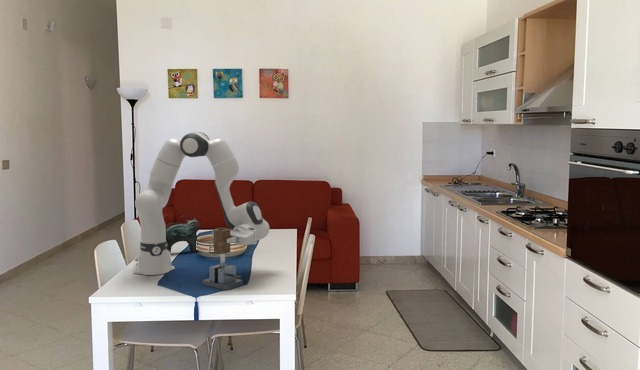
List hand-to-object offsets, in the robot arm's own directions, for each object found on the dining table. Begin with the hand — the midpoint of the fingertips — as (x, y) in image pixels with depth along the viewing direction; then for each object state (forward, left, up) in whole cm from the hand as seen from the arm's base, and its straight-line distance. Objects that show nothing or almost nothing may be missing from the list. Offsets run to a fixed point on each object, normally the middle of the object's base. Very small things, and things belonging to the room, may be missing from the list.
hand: (220, 239), depth 240 cm
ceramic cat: (-63, -1, -20) cm, 67 cm away
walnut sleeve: (0, +1, -6) cm, 6 cm away
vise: (+1, +2, -20) cm, 20 cm away
